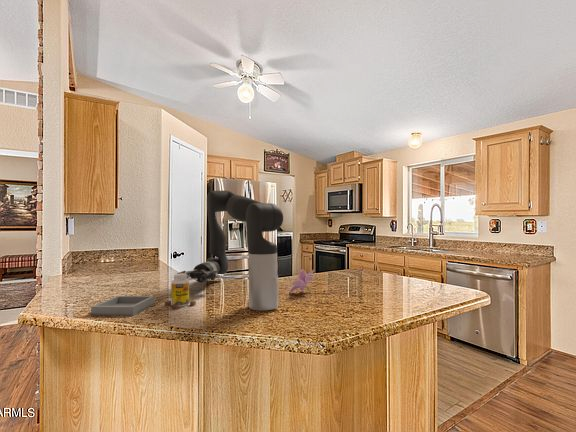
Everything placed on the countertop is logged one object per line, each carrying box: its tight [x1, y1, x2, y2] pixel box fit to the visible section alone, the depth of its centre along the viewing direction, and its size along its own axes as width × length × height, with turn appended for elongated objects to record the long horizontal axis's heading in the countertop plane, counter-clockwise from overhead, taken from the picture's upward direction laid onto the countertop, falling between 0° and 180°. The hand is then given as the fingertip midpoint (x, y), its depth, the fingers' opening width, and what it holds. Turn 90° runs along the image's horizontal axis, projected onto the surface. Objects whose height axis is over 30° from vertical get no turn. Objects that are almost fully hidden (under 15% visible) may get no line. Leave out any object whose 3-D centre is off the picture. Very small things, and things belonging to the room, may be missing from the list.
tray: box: [90, 295, 156, 317], centre depth 98 cm, size 13×13×3 cm
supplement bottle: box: [170, 273, 190, 308], centre depth 102 cm, size 6×6×10 cm
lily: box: [288, 268, 315, 296], centre depth 115 cm, size 12×12×10 cm
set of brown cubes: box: [164, 300, 197, 310], centre depth 102 cm, size 10×10×1 cm
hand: (190, 278), depth 111 cm, fingers open, 8 cm apart
